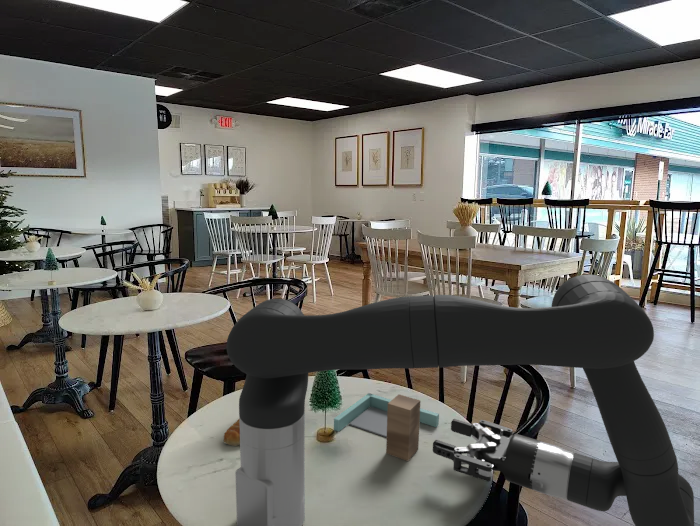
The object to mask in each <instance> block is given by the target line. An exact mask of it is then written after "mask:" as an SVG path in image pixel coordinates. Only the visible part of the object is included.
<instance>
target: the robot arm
mask: <svg viewBox="0 0 700 526" xmlns="http://www.w3.org/2000/svg"><path fill="white" fill-rule="evenodd" d="M654 337H655V331H654V326H653V323H652V320H651V319H650V317H649V315H648V314H647V313H646V312H645V310H644V309H643V307H642V306H641V305H640V304H638V302H637V301H635V300H634V298H633V297H631V296H630V295H629V294H628V293H627V292H626V291H625V290H623V288H621V287H620V286H619V285H617V284H616V283H615V282H613V281H611V280H609V279H608V278H606V277H603V276H600V275H597V274H596V275H595V274H581V275H576V276H573V277H572V278H569V279H567V280H565V281H564V283H562V284H561V285H560V286H559V287H558V288H557V289H556V291H555V293H554V296H553V298H552V300H551V306H546V307H531V308H530V307H529V308H527V307H513V306H508V305H507V306H505V305H503V304H502V305H501V304H496V303H493V302H492V303H491V302H487V301H484V300H480V299H474V298H472V297H471V298H469V297H466V296H459V295H451V294H434V295H433V294H429V295H428V294H427V295H414V296H413V295H412V296H411V295H410V296H401V297H394V298H389V299H385V300H380V301H376V302H373V303H369V304H366V305H365V304H364V305H361V306H358V307H355V308H352V309H351V308H350V309H349V310H348V309H347V310H344V311H340V312H335V313H329V314H320V315H319V314H318V315H317V314H316V315H315V314H314V315H311V314H310V315H309V314H307V315H305V314H304V313H303V311H302V310H301V308H300V307H298V305H296V304H295V303H294V302H292V301H289V300H288V299H284V298H270V299H267V300H264V301H262V302H260V303H258V304H257V305H256V306H254V307H253V308H251V309H250V310H249V311H247V312H246V313H245V314H244V315H242V316H241V317H240V318H239V319H238V320H237V321H236V322H235V324H234V325H233V327H232V328H231V329H230V332H229V333H228V335H227V339H226V353H227V356H228V358H229V361H230V362H231V363H232V364H233V365H234V367H235V368H237V369H238V370H240V372H242V373H244V374H246V376H245V379H244V380H245V381H244V383H243V387H242V390H241V391H240V394H239V399H238V413H239V414H238V415H239V417H238V419H239V423H240V445H239V453H240V454H239V455H240V457H239V459H240V467H238V468H237V469H236V470H235V474H234V475H235V499H236V500H235V504H236V526H303V525H304V523H305V519H306V518H305V517H306V516H305V515H306V513H305V511H306V510H305V509H306V508H305V505H306V502H305V501H306V499H305V497H306V496H305V495H306V494H305V493H306V492H305V491H306V490H305V489H306V487H305V486H306V485H305V483H306V481H305V479H306V478H305V468H306V467H305V464H306V462H305V461H306V459H305V454H306V453H305V450H306V448H305V447H306V446H305V445H306V443H305V442H306V441H305V440H306V439H305V438H306V437H305V435H306V434H305V433H306V432H305V428H306V427H305V426H306V425H305V418H306V417H305V415H306V414H305V411H306V410H305V407H306V406H305V403H306V397H307V391H308V385H309V373H316V372H317V373H318V372H325V371H327V372H328V371H337V370H382V369H384V370H385V369H431V368H433V369H434V368H435V369H436V368H437V369H438V368H450V367H469V366H470V367H471V366H474V367H475V366H476V367H477V366H513V365H524V366H525V365H526V366H527V365H530V366H547V367H561V368H562V367H563V368H576V369H582V370H583V372H584V374H585V377H586V378H587V382H588V383H589V386H590V389H591V390H592V393H593V395H594V396H593V397H594V399H595V402H596V405H597V408H598V411H599V414H600V416H601V420H602V422H603V424H604V428H605V430H606V434H607V436H608V440H609V442H610V445H611V447H612V450H613V453H614V456H615V458H616V460H617V461H604V460H599V459H596V458H593V457H590V456H586V455H583V454H580V453H578V452H575V453H574V452H573V451H571V450H568V449H566V448H564V447H562V446H558V445H556V444H553V443H552V444H551V443H550V442H549V443H548V442H545V441H543V440H538V439H535V438H531V437H529V436H525V435H521V434H518V433H514V434H513V429H512V428H509V427H506V426H504V425H500V424H497V423H494V422H491V421H488V420H484V419H480V420H479V422H478V423H477V422H473V423H470V422H466V421H463V420H459V419H456V418H454V419H452V420H451V422H450V431H452V432H453V433H456V434H460V435H463V436H466V437H469V438H471V437H472V438H473V439H474V440H475V441H476V442H475V443H469V444H468V445H467V446H457V447H456V445H455V444H451V443H449V442H446V441H443V440H439V439H435V440H433V443H432V452H433V454H435V455H437V456H440V457H443V458H446V459H448V460H451V461H452V462H453V468H452V469H453V471H454V472H457V473H460V474H463V475H465V476H466V475H467V476H470V477H472V478H473V477H474V478H476V479H479V480H482V481H485V482H491V481H492V475H493V471H497V472H501V473H502V475H504V479H505V480H506V481H507V482H509V483H512V484H514V485H518V486H520V487H523V488H526V489H529V490H532V491H534V492H538V493H540V494H544V495H547V496H550V497H553V498H557V499H563V500H566V501H568V502H571V503H574V504H577V505H580V506H583V507H586V508H589V509H591V510H595V511H598V512H607V511H609V510H610V509H611V508H612V506H613V503H614V502H615V500H616V499H617V498H618V497H626V502H627V507H628V511H629V514H630V517H631V521H632V523H633V524H634V526H695V497H694V496H695V495H694V491H693V490H694V489H693V488H692V485H691V484H690V483H689V481H688V480H687V479H686V478H685V477H684V476H682V475H681V474H680V473H679V465H678V464H679V463H678V459H677V455H676V453H675V449H674V446H673V444H672V443H673V442H672V441H671V437H670V434H669V432H668V429H667V426H666V424H665V421H664V420H663V418H662V415H661V413H660V411H659V410H658V408H657V405H656V404H655V402H654V399H653V398H652V396H651V394H650V392H649V390H648V388H647V386H646V384H645V383H644V382H645V381H644V380H643V379H642V376H641V374H640V372H639V370H638V368H637V365H636V364H635V361H636V360H639V359H641V358H642V357H643V356H644V355H645V354H646V353H647V352H648V351H649V349H650V348H651V346H652V344H653V342H654ZM490 429H491V430H490ZM465 454H466V455H465ZM463 465H464V466H463ZM465 465H468V467H467V466H465Z"/></svg>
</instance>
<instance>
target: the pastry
mask: <svg viewBox="0 0 700 526" xmlns="http://www.w3.org/2000/svg"><path fill="white" fill-rule="evenodd" d="M223 443H224V444H227V445H228V446H233V447H239V446H240V423H239V418H238V419H237V420H236V421H235V422H234V423H233V424H232V425H230V427H228V428H227V430H226V431H225V432H224V433H223ZM238 445H239V446H238Z"/></svg>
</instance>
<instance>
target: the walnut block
mask: <svg viewBox="0 0 700 526" xmlns="http://www.w3.org/2000/svg"><path fill="white" fill-rule="evenodd" d="M420 408H421V400H420V399H416V398H413V397H409V396H406V395H403V394H397V395H396V396H395V397H394V398H393V399H391V401H390V402H389V403H388V412H387V438H386V445H385V447H386V449H385V450H386V451H385V452H386V453H385V454H387V455H390V456H391V457H396V458H398V459H401V460H404V461H406V462H409V461H410V459H411V458H412V457H413V456H414V455H415V454H416V453H417V452H418V450H419V445H420V444H419V442H420V423H421V422H420Z"/></svg>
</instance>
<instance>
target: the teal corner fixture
mask: <svg viewBox="0 0 700 526" xmlns="http://www.w3.org/2000/svg"><path fill="white" fill-rule="evenodd" d="M391 400H392V399H390V398H387V397H383V396H380V395H377V394H374V393H370V392H368V393H367V394H366V395H364V396H362V398H360V399H358V400H357V401H356V402H355V403H353V404H352V405H351V406H349V407H348V408H346V409H344V411H342V412H341V413H339V414H338V415H336V416H335V417H334V418H333V431H335V432H340V431H342V430H343V429H344V428H346V427H347V426H348V425H349V426H352V427H355V428H358V429H361V430H363V431H365V432H369V433H373V434H375V435H378V436H381V437H383V438H386V439H387V412H388V403H389V402H390V401H391ZM439 420H440V413H438V412H434V411H431V410H429V409H424V408H421V407H420V423H422V424H423V425H428V426H431V427H435V428H437V427H439V425H440V424H439V423H440V421H439Z"/></svg>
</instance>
